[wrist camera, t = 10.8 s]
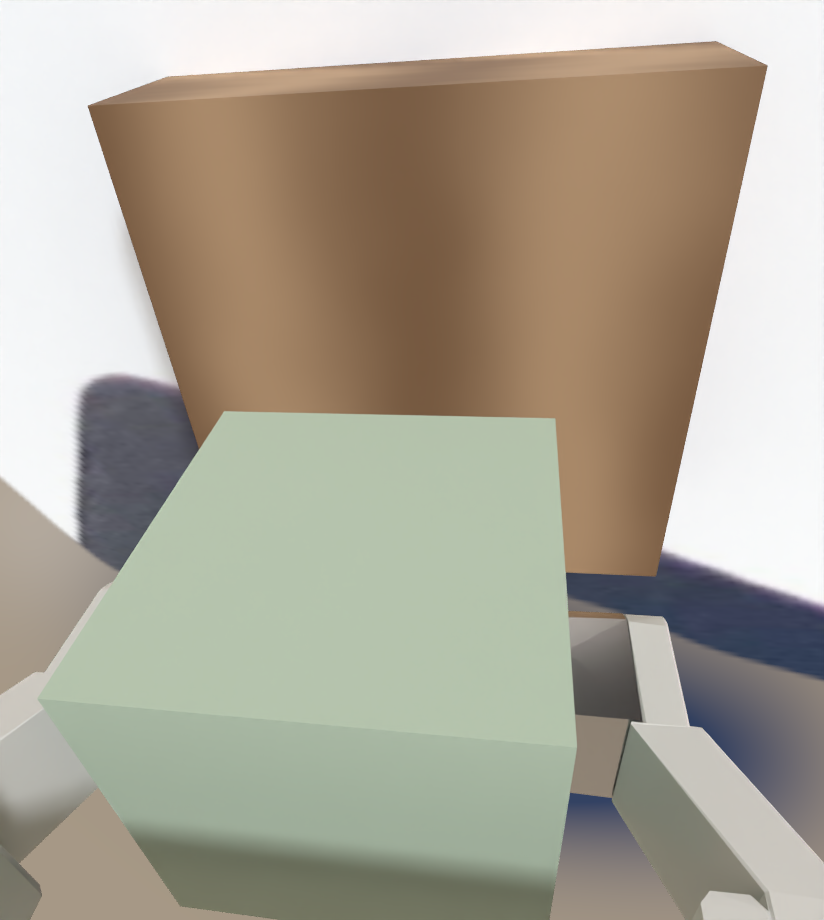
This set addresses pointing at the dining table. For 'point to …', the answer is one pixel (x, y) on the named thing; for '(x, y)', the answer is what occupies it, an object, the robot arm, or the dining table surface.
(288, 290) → the walnut block
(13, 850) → the robot arm
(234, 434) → the green cube
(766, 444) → the dining table surface
